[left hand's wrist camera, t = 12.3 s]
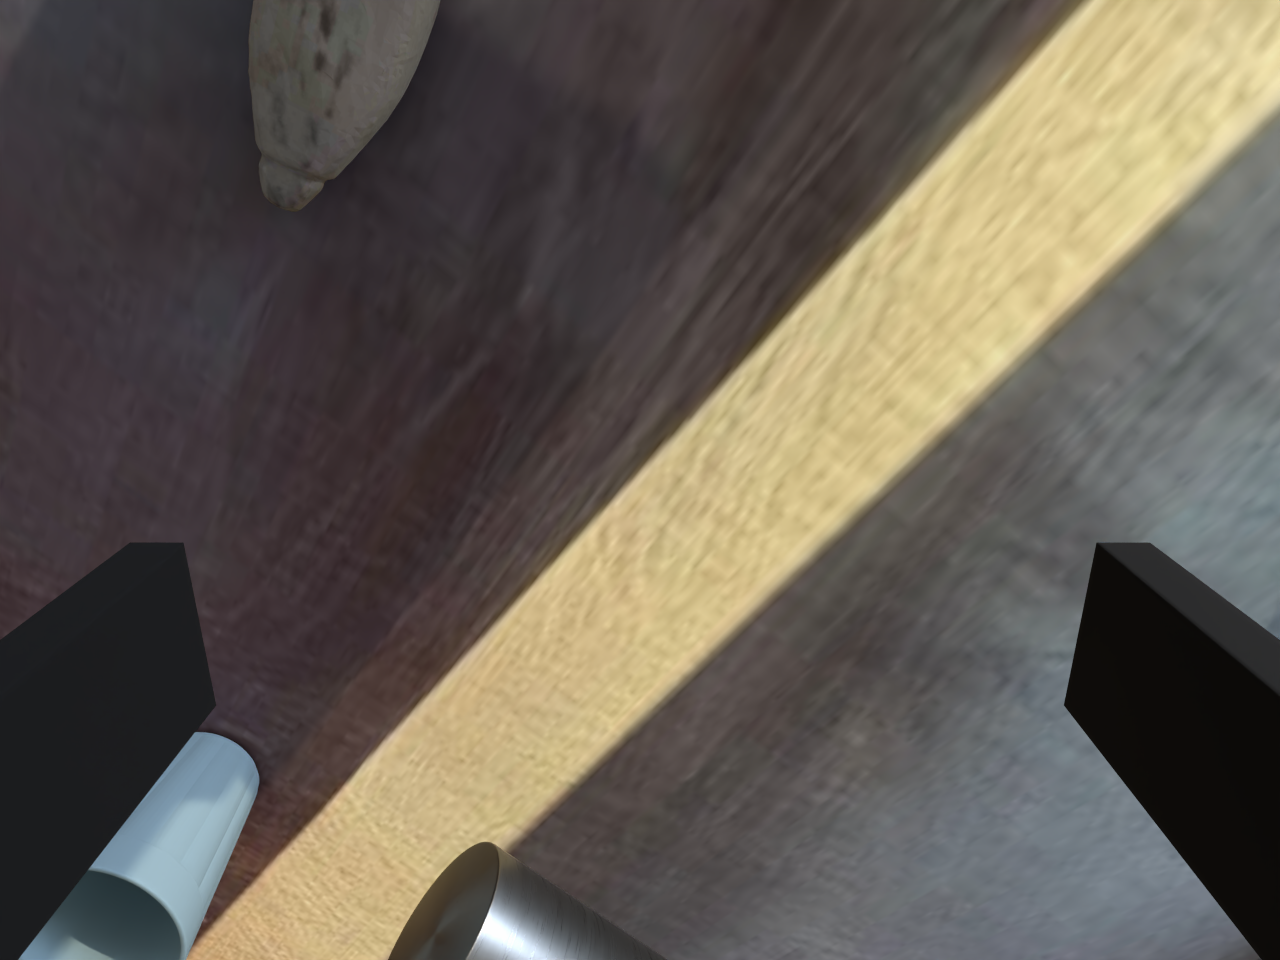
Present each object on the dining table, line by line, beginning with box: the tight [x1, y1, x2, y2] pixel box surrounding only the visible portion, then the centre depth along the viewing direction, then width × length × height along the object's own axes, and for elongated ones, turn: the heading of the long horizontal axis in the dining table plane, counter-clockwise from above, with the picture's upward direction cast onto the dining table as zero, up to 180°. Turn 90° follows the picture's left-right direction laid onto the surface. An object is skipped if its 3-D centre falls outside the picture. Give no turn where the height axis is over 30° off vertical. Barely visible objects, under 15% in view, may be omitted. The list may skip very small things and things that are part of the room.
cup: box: [18, 732, 259, 960], centre depth 41 cm, size 8×8×10 cm
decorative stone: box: [248, 0, 440, 212], centre depth 32 cm, size 6×16×3 cm, turn 155°
